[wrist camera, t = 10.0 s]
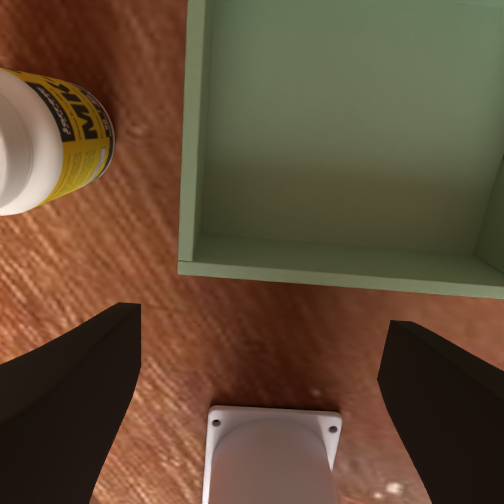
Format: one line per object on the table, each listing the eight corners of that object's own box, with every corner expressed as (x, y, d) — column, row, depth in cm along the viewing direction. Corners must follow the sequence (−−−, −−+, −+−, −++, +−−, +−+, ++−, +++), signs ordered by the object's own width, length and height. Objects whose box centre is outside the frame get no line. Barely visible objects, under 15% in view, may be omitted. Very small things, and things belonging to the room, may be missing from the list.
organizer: (476, 264, 21) (534, 301, 17) (189, 241, 20) (176, 274, 16) (555, 2, 17) (658, -35, 13) (203, -43, 16) (190, -97, 12)
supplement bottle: (137, 129, 18) (59, 141, 10) (81, 206, 19) (-30, 270, 11) (46, 53, 17) (-122, 1, 9) (-9, 139, 18) (-202, 159, 10)
